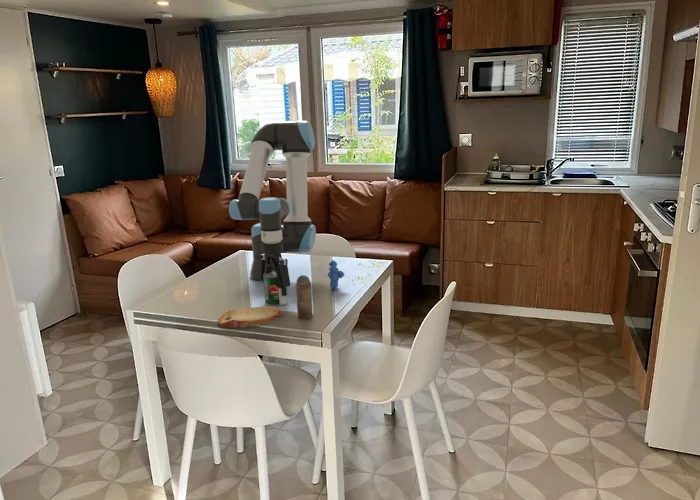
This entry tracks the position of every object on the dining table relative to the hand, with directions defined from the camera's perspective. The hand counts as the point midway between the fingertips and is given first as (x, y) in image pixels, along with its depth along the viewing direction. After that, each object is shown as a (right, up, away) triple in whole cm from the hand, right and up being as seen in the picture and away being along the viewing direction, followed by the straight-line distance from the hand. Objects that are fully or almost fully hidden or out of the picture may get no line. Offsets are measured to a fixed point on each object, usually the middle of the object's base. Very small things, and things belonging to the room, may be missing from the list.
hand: (276, 301), depth 205 cm
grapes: (+22, +3, +13) cm, 26 cm away
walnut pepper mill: (+12, -4, -16) cm, 20 cm away
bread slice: (-7, -5, -16) cm, 18 cm away
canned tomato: (0, 0, 0) cm, 1 cm away
